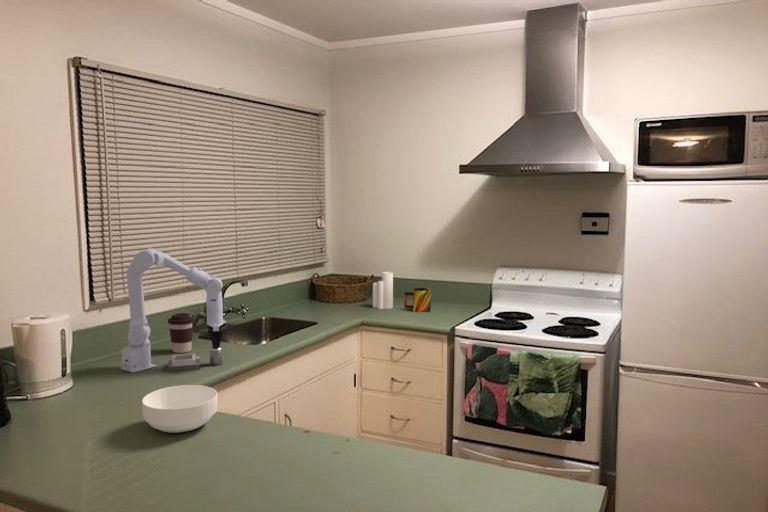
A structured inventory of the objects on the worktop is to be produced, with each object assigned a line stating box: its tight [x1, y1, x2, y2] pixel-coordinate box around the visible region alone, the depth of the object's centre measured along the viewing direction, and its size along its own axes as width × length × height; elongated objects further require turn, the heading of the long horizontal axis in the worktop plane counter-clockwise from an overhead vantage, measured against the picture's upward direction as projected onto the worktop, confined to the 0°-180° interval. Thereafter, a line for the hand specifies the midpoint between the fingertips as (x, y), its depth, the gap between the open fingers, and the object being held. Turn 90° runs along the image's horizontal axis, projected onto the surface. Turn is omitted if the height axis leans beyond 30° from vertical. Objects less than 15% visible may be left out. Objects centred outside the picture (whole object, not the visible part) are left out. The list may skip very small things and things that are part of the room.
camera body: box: [167, 353, 201, 373], centre depth 217 cm, size 11×9×4 cm
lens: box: [208, 345, 223, 367], centre depth 220 cm, size 5×5×6 cm
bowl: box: [141, 384, 218, 433], centre depth 162 cm, size 20×20×8 cm
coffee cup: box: [167, 312, 195, 354], centre depth 238 cm, size 10×10×15 cm
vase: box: [372, 271, 394, 310], centre depth 330 cm, size 11×7×20 cm, turn 93°
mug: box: [403, 287, 432, 313], centre depth 322 cm, size 10×14×12 cm
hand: (215, 345), depth 220 cm, fingers open, 7 cm apart
